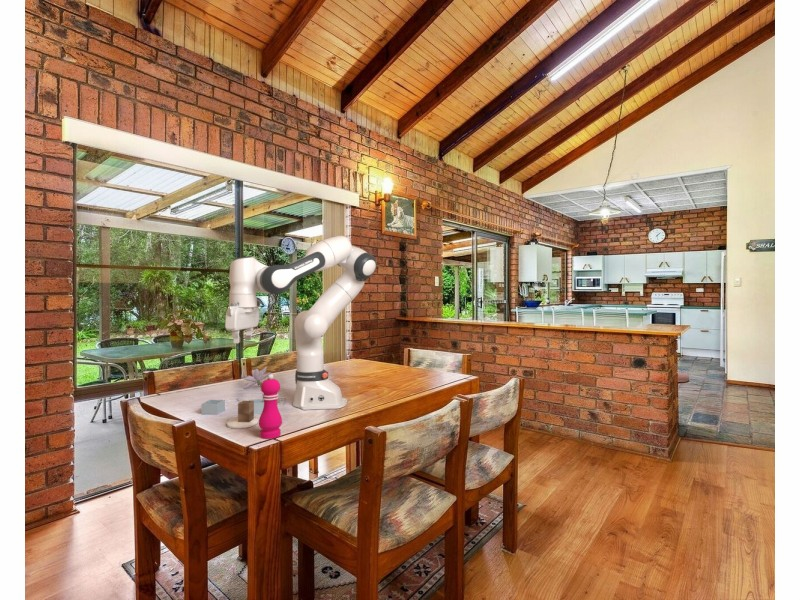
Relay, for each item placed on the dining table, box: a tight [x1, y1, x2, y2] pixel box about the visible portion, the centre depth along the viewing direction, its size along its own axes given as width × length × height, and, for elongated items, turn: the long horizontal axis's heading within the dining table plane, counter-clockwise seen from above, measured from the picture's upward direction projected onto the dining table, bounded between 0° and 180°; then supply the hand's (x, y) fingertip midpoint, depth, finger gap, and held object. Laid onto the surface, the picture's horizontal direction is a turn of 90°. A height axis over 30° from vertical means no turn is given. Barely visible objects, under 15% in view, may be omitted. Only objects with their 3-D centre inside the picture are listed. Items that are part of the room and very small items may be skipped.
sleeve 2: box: [248, 398, 264, 415], centre depth 160 cm, size 6×6×4 cm
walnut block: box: [237, 400, 255, 422], centre depth 144 cm, size 4×4×6 cm
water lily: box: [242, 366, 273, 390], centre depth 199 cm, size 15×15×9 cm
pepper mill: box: [258, 373, 283, 440], centre depth 132 cm, size 7×7×20 cm
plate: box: [226, 416, 259, 430], centre depth 144 cm, size 10×10×1 cm
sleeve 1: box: [200, 399, 226, 416], centre depth 159 cm, size 6×6×4 cm
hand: (242, 341), depth 144 cm, fingers open, 8 cm apart
